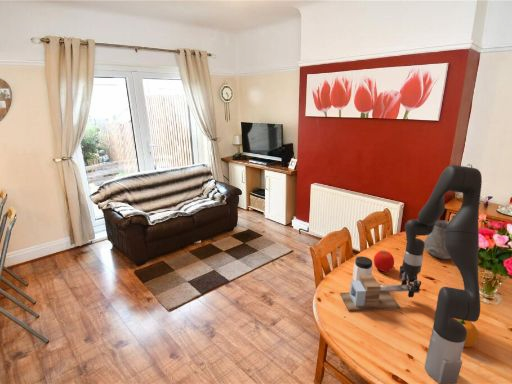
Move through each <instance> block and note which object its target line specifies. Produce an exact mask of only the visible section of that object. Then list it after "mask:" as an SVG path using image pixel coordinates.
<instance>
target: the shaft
mask: <svg viewBox="0 0 512 384" xmlns="http://www.w3.org/2000/svg"><path fill="white" fill-rule="evenodd" d="M379 285H380V284H379ZM380 286H381V289H380V292H389V293H392V292H394V293H396V292H399V293H400V292H409V285H408V284H407V285H401V284H386V285H385V284H381V285H380ZM411 287H413V285H412V286H411ZM420 288H421V287H420ZM420 288H419V291H418V292H414V294H419V293H420V290H421V289H420Z"/></svg>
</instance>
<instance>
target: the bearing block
mask: <svg viewBox="0 0 512 384" xmlns="http://www.w3.org/2000/svg"><path fill="white" fill-rule="evenodd" d="M359 281H360V282H361V284H362V285H363V287H364V288H365V290H366V297H365V305H364V306H355V304H354V302H353V300H352V299H351V297H350V291H349V292H340V293H339V295H340V296H341V298H342V302H343V303H344V306H345V307H346V309H347V311H348V312H369V311H371V312H373V311H398V310H399V311H400V310H401V309H402V307H401V306H400V304H399V303H398V302H397V300H396V299H395V298H394V296H393V295H392V294H391V292H380V289H381V286H380V283H379V282H378V281H377V280H376V278H375V277H374V275H360V278H359Z"/></svg>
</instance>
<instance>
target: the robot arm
mask: <svg viewBox="0 0 512 384" xmlns="http://www.w3.org/2000/svg"><path fill="white" fill-rule="evenodd" d="M482 177H483V176H482V173H481V171H480V170H479V169H478V168H475V167H469V166H463V165H456V164H453V165H452V164H451V165H448V166H446V167H445V168H444V170H443V171H442V172H441V174H440V176H439V178H438V180H437V182H436V184H435V186H434V187H433V191H431V192H432V193H431V194H430V196H429V198H428V200H427V202H426V203H425V205H423V206H422V208H421V209H420V210H419V212H418V214H417V218H416V219H409V220H407V222H406V223H405V224H404V230H405V238H406V245H405V251H404V254H403V259H402V264H401V265H400V266H399V279H400V281H401V284H400V285H409V291H408V294H407V296H408V298H414V295H415V293H414V292H418V291H419V288H421V285H422V281H421V280H419V279H418V275H419V274H420V273H421V270H422V266H423V259H424V251H425V248H424V246H425V243H424V241H425V240H423V239H421V238H417V236H419V237H420V236H423V237H425V236H428V235H429V234H431V233H432V231H433V229H434V226H435V223H436V221H437V220H440V218H441V217H442V215H444V212H445V211H446V210H445V208H446V203H445V195H446V194H447V193H448V192H455V193H461V194H462V202H461V206H460V207H459V209H458V211H457V212H456V213H455V214H454V216H453V217H452V218H451V219H450V221H449V223H448V225H447V227H446V233H445V247H446V250H447V252H448V254H449V255H450V257H451V259H450V260H452V261H453V263H454V265H455V266H456V268H457V269H458V271H459V274H460V276H461V278H462V281H463V289H460V288H455V287H450V286H443V287H440V289H439V291H438V295H437V301H436V308H435V313H434V319H433V326H432V330H431V335H430V338H429V344H428V348H427V353H426V357H425V362H424V370H425V372H426V373H427V375H428V376H429V377H431V378H432V379H433V380H434V381H436V382H437V383H438V384H458V380H459V376H460V372H461V368H462V365H463V360H462V359H461V357H462V355H463V354H462V353H463V350H464V348H465V347H464V343H465V339H466V336H467V330H466V328H465V327H464V325H463V324H462V323H460V322H459V321H457V320H456V319H461V320H466V321H470V322H471V323H474V322H477V321H478V320H479V318H480V314H481V296H480V295H481V294H480V293H481V292H480V283H479V282H480V281H479V249H480V248H479V247H480V245H479V241H480V240H479V237H480V233H479V213H480V212H479V211H480V210H479V209H480V201H481V193H482V184H483V181H482ZM412 285H413V287H411V286H412ZM419 292H420V291H419ZM454 318H456V319H454Z"/></svg>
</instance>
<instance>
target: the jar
mask: <svg viewBox="0 0 512 384" xmlns="http://www.w3.org/2000/svg"><path fill="white" fill-rule="evenodd" d="M352 272H353V273H352V279H353V281H359V278H360V275H372V274H373V260H372V259H371V258H369V257H367V256H361V255H360V256H357V257H356V258H355V262H354V264H353V271H352Z"/></svg>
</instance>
